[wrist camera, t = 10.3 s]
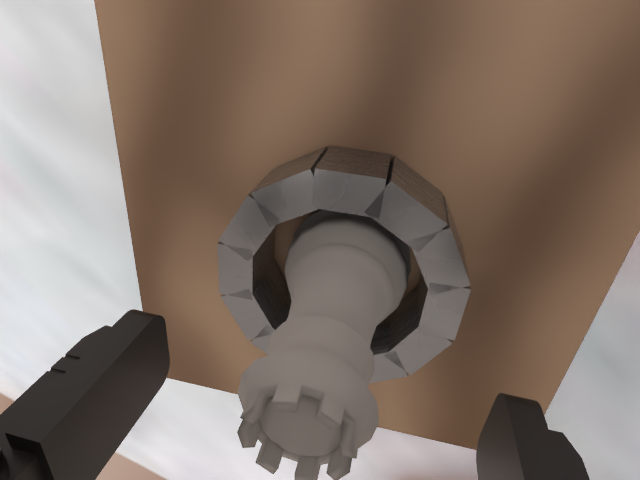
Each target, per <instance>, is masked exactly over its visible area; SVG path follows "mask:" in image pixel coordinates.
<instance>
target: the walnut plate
mask: <svg viewBox="0 0 640 480" xmlns="http://www.w3.org/2000/svg"><path fill="white" fill-rule="evenodd" d="M94 1H95V7H96V14H97V20H98V27H99V33H100V39H101V46H102V52H103V59H104V65H105V71H106V78H107V84H108V91H109V97H110V103H111V110H112V116H113V123H114V129H115V135H116V142H117V148H118V155H119V161H120V167H121V174H122V180H123V187H124V193H125V200H126V206H127V212H128V219H129V225H130V232H131V238H132V244H133V251H134V257H135V264H136V270H137V276H138V283H139V289H140V296H141V302H142V308H143V312H147V313H152V314H156V315H160V316H163V317H164V319H165V323H166V331H167V339H168V347H169V355H170V367H169V371H168V375H167V377H166V378H170V379H175V380H179V381H183V382H188V383H192V384H196V385H200V386H205V387H209V388H213V389H218V390H222V391H226V392H230V393H235V394H238V389H239V384H240V379H241V374H242V373H243V372H244V371H245V370H246V369H247V368H248V367H249V366H250V365H251V364H252V363H253V362H254V361H255V360H256V359H258V358H261V357H264V356H267V355H268V354H266V353H265V352H263V351H262V350H260V349H259V348H257V347H256V346H254V345H253V344H251V341H252V339H251V340H247V338H246V336H245V335H244V333H243V332H242V330H241V329H240V327H239V325H238V324H237V322H236V321H235V319H234V317H233V316H232V314H231V313H230V311H229V309H228V308H227V306H226V305H225V303H224V302H223V300H222V298H221V296H222V294H219V271H218V247H217V243H218V242H219V238H220V237H221V235H222V234H223V232H224V231H225V229H226V228H227V226H228V225H229V223H230V221H231V220H232V218H233V217H234V215H235V214H236V212H237V211H238V209H239V208H240V206H241V205H242V203H243V202H244V200H245V199H246V197H247V196H248V194H249V193H250V192H251V191H252V190H253V189H254V188H255V187H256V186H257V185H258V184H259V183H260V182H261V181H262V180H263V179H264V178H265V177H266V176H267V175H268V174H269V173H270V172H271V171H272V170H273V169H274V168H275V167H277V166H280V165H282V164H284V163H287V162H289V161H292V160H294V159H296V158H299V157H301V156H304V155H306V154H308V153H311V152H313V151H316V150H318V149H320V148H323V147H325V146H327V147H328V149H329V147H330V146H331V145H332V146H339V147H346V148H353V149H361V150H368V151H375V152H382V153H389V154H391V158H390V161H391V160H392V159H393V157H394V156H396V157H398V158H399V159H400V160H402V161H403V162H404V163H405V164H407V165H408V166H409V167H411V168H412V169H413V170H414V171H416V172H417V173H418V174H420V175H421V176H422V177H423V178H425V179H426V180H427V181H429V182H430V183H431V184H432V185H434V186H435V187H436V188H438V189H439V190H440V191H441V192H442V193H443V196H444V195H445V198H446V201H447V203H448V206H449V209H450V212H451V215H452V218H453V220H454V223H455V226H456V229H457V232H458V235H459V237H460V240H461V243H462V246H463V251H464V255H465V260H466V265H467V270H468V274H469V279H470V284H471V286H470V287H471V291H470V294H469V297H468V300H467V303H466V307H465V310H464V313H463V316H462V319H461V322H460V325H459V328H458V332H457V335H456V338H455V340H452V344H451V345H450V346H448V347H447V348H446V349H444V350H443V351H442V352H441V353H439V354H438V355H437V356H435V357H434V358H433V359H431V360H430V361H429V362H428V363H426V364H425V365H424V366H422V367H421V368H420V369H418V370H417V371H416V372H414V373H413V374H412V375H410V374H409V373H408V377H402V378H397V379H391V380H385V381H380V382H374V383H369V385H367V387H368V389H369V390H370V392H371V393H372V395H373V396H374V398H375V399H376V401H377V408H378V416H379V423H378V425H377V427H380V428H385V429H389V430H393V431H397V432H402V433H406V434H410V435H415V436H419V437H423V438H427V439H432V440H436V441H440V442H445V443H449V444H453V445H457V446H462V447H466V448H470V449H475V450H477V445H478V440H479V436H480V434H481V431H482V429H483V427H484V424H485V422H486V420H487V417H488V415H489V413H490V410H491V408H492V406H493V403H494V401H495V399H496V397H497V395H498V394H499V393H504V394H509V395H513V396H518V397H522V398H527V399H531V400H536V401H537V402H538V403H539V404H540V406H541V408H542V411H543V414H545V412H546V410H547V408H548V407H549V405H550V403H551V401H552V399H553V397H554V395H555V393H556V391H557V389H558V387H559V385H560V383H561V381H562V379H563V378H564V376H565V374H566V372H567V370H568V368H569V366H570V364H571V362H572V360H573V358H574V356H575V354H576V352H577V350H578V349H579V347H580V345H581V343H582V341H583V339H584V337H585V335H586V333H587V331H588V329H589V327H590V325H591V323H592V321H593V320H594V318H595V316H596V314H597V312H598V310H599V308H600V306H601V304H602V302H603V300H604V298H605V296H606V294H607V292H608V290H609V289H610V287H611V285H612V283H613V281H614V279H615V277H616V275H617V273H618V271H619V269H620V267H621V265H622V263H623V261H624V260H625V258H626V256H627V254H628V252H629V250H630V248H631V246H632V244H633V242H634V240H635V238H636V236H637V234H638V232H639V231H640V0H94ZM321 210H323V209H318V210H316V211H313V212H310V213H307V214H304V215H302V216H299V217H296V218H293V219H290V220H288V221H285V222H282V223H279V224H276V226H275V254H274V258H275V260H276V262H277V264H278V265H279V267H280V269H281V271H282V273H283V275H284V276H285V262H286V258H287V253H288V249H289V245H290V244H291V243H292V240H293V236H294V233H295V232H296V230H297V229H298V228H299V227H300V226H301V224H302V223H303V222H304V221H305V219H306V218H307V217H308V216H310V215H312V214H314V213H317V212H319V211H321ZM408 247H409V249H410V262H411V272H410V274H409V276H408V286H407V288H406V291H405V293H404V295H403V298H404V297H405V296H406V295H407V294H408V293H409V292H410V291H411V290H412V289H413V288H414V287H416V286H417V285H418V282H419V278H420V274H421V270H420V267H419V265H418V262H417V260H416V257H415V255H414V252H413V250H412V248H411V247H410V246H409V245H408ZM285 278H286V276H285Z"/></svg>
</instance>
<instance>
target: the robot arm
mask: <svg viewBox="0 0 640 480" xmlns="http://www.w3.org/2000/svg"><path fill="white" fill-rule="evenodd" d="M169 367H170V355H169V347H168V339H167V331H166V323H165V319H164V317H163V316H160V315H156V314H152V313H147V312H143V311H138V310H130V311H128V312H127V313H126V314H125V315H124V316H123V317H122V318H121V319H119V320H118V321H117V322H116V323H115V324H114V325H113V326H112V327H110V326H104V327H102V328H100V329H98V330H97V331H95V332H93V333H91V334H89V335H87V336H85V337H84V338H82V339H81V340H80V341H79V342H78V343H77V344H76V345H75V346H74V347H73V348H72V349H71V350H69V351H68V352H67V353H66V356H65V357H64V358H63V357H62V358H61V359H60V360H59V361H58V362H57V363H56V364H54V365H53V366H52V367H51V370H50V371H47V372H46V373H45V374H44V375H43V376H42V377H40V378H39V379H38V380H37V381H36V382H35V383H34V384H33V385H32V386H31V387H30V388H29V389H28V390H27V391H25V392H24V393H23V394H22V395H21V396H20V397H19V398H18V399H17V400H16V401H15V402H14V403H13V404H11V406H9V407H8V408H7V409H6V410H5V411H4V412H3V413H2V414H1V415H0V480H95V479H96V478H97V476H98V475H99V473H100V472H101V471H102V469H103V468H104V466H105V465H106V463H107V462H108V461H109V459H110V458H111V456H112V455H113V454H114V452H115V451H116V450H117V448H118V447H119V445H120V444H121V443H122V441H123V440H124V438H125V437H126V436H127V434H128V433H129V431H130V430H131V429H132V427H133V426H134V424H135V423H136V422H137V420H138V419H139V417H140V416H141V415H142V413H143V412H144V410H145V409H146V408H147V406H148V405H149V403H150V402H151V401H152V399H153V398H154V396H155V395H156V394H157V392H158V391H159V389H160V388H161V387H162V385H163V383H164V382H165V379H166V377H167V375H168V371H169ZM476 462H477V472H478V480H590V479H589V476H588V474H587V471H586V468H585V466H584V463H583V460H582V458H581V457H580V455H579V454H578V453H577V451H576V450H575V449H574V447H573V446H572V445H571V443H570V442H569V441H568V439H567V438H566V437H565V435H564V434H563V433H561V432H557V431H552V430H548V427H547V423H546V420H545V417H544V414H543V411H542V408H541V406H540V404H539V403H538V402H537V401H536V400H531V399H527V398H522V397H518V396H513V395H509V394H504V393H499V394H498V395H497V397H496V399H495V401H494V403H493V406H492V408H491V410H490V413H489V415H488V417H487V420H486V422H485V424H484V427H483V429H482V431H481V434H480V436H479V440H478V445H477V455H476Z"/></svg>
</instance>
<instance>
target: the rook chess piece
mask: <svg viewBox="0 0 640 480" xmlns="http://www.w3.org/2000/svg"><path fill="white" fill-rule="evenodd" d="M410 272H411V262H410V249H409V247H408V245H407V244H406V243H405V242H403V241H402V240H401V239H399V238H398V237H397V236H395V235H394V234H393V233H391V232H390V231H389V230H387V229H386V228H385V227H383V226H382V225H381V224H379V223H378V222H377V221H375V220H374V219H373V218H371V217H366V216H360V215H354V214H348V213H342V212H336V211H330V210H321V211H319V212H317V213H314V214H312V215H310V216H308V217H307V218H306V219H305V221H304V222H303V223H302V224H301V226H300V227H299V228H298V229H297V230H296V232H295V233H294V236H293V240H292V243H291V244H290V245H289V249H288V253H287V258H286V262H285V276H286V280H287V285H288V290H289V292H290V296H291V301H292V302H291V306H290V311H289V315H288V318H287V320H286V322H283V323H282V324H281V325H280V326H279V327H278V328H277V329H276V330H275V331H274V332H273V333H272V334H271V338H270V342H269V346H268V353H269V355H267V356H264V357H261V358H258V359H256V360H255V361H254V362H253V363H252V364H251V365H250V366H249V367H248V368H247V369H246V370H245V371H244V372H243V373H242V374H241V379H240V384H239V389H238V395H239V398H240V401H241V404H242V407H243V410H244V411H243V413H242V415H241V418H242V419H243V420H242V423H241V425H240V427H239V429H238V432H237V433H238V435H239V438H240V441H241V444H242V447H243V448H248V447H255V444H256V442H257V439H259V441H260V442H261V443H262V446H261V449H260V451H259V454H258V457H257V460H256V463H257V464H259V465H260V466H262V467H263V468H265V469H266V470H268V471H269V472H271V473H272V474H274V473H275V472H276V470H277V469H278V467H279V464H280V461H281V458H282V456H283V457H286V458H288V459H291V460H294V461H297V462H298V464H297V468H296V471H295V480H317V478H318V474H319V469H320V465H322V464H327V463H328V468H327V474H328V475H329V476H330V477H332V478H333V479H334V480H338V479H340V478H341V477H343V476H345V475H346V474H348V473H349V472H350V467H351V461H352V458H356V457H357V450H358V448H359V447H361V446H362V445H363V444H365V443H366V442H368V441H369V440H370V439H371V438H372V436H373V434H374V432H375V430H376V427H377V425H378V423H379V416H378V408H377V401H376V399H375V398H374V396H373V395H372V393H371V392H370V390H369V389H368V387H367V385H369V383H370V380H371V378H372V376H373V374H374V371H375V365H374V356H373V352H372V351H371V349H370V345H371V340H372V337H373V334H374V332H375V329H376V326H377V325H378V324H379V323H381V322H382V321H383V320H384V319H385V318H386V317H387V316H389V315H390V314H391V313H392V312H393V311H394V310H395V309H397V307H398V306H399V304H400V302H401V300H402V298H403V295H404V293H405V291H406V288H407V286H408V276H409V274H410Z"/></svg>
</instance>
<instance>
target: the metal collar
mask: <svg viewBox="0 0 640 480" xmlns="http://www.w3.org/2000/svg"><path fill="white" fill-rule="evenodd" d="M390 158H391V154H389V153H382V152H375V151H368V150H361V149H353V148H346V147H339V146H332V145H331V146H330V147H329V149H328V147H327V146H325V147H323V148H320V149H318V150H316V151H313V152H311V153H308V154H306V155H304V156H301V157H299V158H296V159H294V160H292V161H289V162H287V163H284V164H282V165H280V166H277V167H275V168H274V169H273V170H272V171H271V172H270V173H269V174H268V175H267V176H266V177H265V178H264V179H263V180H262V181H261V182H260V183H259V184H258V185H257V186H256V187H255V188H254V189H253V190H252V191H251V192H250V193H249V194H248V196H247V197H246V199H245V200H244V202H243V203H242V205H241V206H240V208H239V209H238V211H237V212H236V214H235V215H234V217H233V218H232V220H231V221H230V223H229V225H228V226H227V228H226V229H225V231H224V232H223V234H222V235H221V237H220V238H219V242H218V243H217V247H218V271H219V294H222V296H221V298H222V300H223V302H224V303H225V305H226V306H227V308H228V309H229V311H230V313H231V314H232V316H233V317H234V319H235V321H236V322H237V324H238V325H239V327H240V329H241V330H242V332H243V333H244V335H245V336H246V338H247V340H251V339H252V341H251V344H253V345H254V346H256V347H257V348H259V349H260V350H262V351H263V352H265V353H266V354H268V355H269V353H268V346H269V342H270V338H271V334H272V333H273V332H274V331H275V330H276V329H277V328H278V327H279V326H280V325H281V324H282V323H283V322H286V320H287V318H288V315H289V311H290V306H291V302H292V301H291V296H290V292H289V290H288V285H287V280H286V278H285V276H284V275H283V273H282V271H281V269H280V267H279V265H278V264H277V262H276V260H275V258H274V254H275V226H276V224H279V223H282V222H285V221H288V220H290V219H293V218H296V217H299V216H302V215H304V214H307V213H310V212H313V211H316V210H318V209H323V210H330V211H336V212H342V213H348V214H354V215H360V216H366V217H371V218H373V219H374V220H375V221H377V222H378V223H379V224H381V225H382V226H383V227H385V228H386V229H387V230H389V231H390V232H391V233H393V234H394V235H395V236H397V237H398V238H399V239H401V240H402V241H403V242H405V243H406V244H407V245H409V246H410V247H411V248H412V250H413V252H414V255H415V257H416V260H417V262H418V265H419V267H420V270H421V274H420V278H419V282H418V285H417V286H416V287H414V288H413V289H412V290H411V291H410V292H409V293H408V294H407V295H406V296H405V297H404V298H402V300H401V302H400V304H399V306H398V307H397V309H395V310H394V311H393V312H392V313H391V314H390V315H389V316H387V317H386V318H385V319H384V320H383V321H382V322H381V323H379V324H378V325H377V326H376V329H375V332H374V334H373V337H372V340H371V345H370V349H371V351H372V352H373V356H374V365H375V371H374V374H373V376H372V378H371V380H370V383H374V382H380V381H385V380H391V379H397V378H402V377H408V373H409V374H410V375H412V374H413V373H414V372H416V371H417V370H418V369H420V368H421V367H422V366H424V365H425V364H426V363H428V362H429V361H430V360H431V359H433V358H434V357H435V356H437V355H438V354H439V353H441V352H442V351H443V350H444V349H446V348H447V347H448V346H450V345H451V344H452V340H455V338H456V335H457V332H458V328H459V325H460V322H461V319H462V316H463V313H464V310H465V307H466V303H467V300H468V297H469V294H470V291H471V287H470V286H471V284H470V279H469V274H468V270H467V265H466V260H465V255H464V251H463V246H462V243H461V240H460V237H459V235H458V232H457V229H456V226H455V223H454V220H453V218H452V215H451V212H450V209H449V206H448V203H447V201H446V198H445V195H444V196H443V193H442V192H441V191H440V190H439V189H438V188H436V187H435V186H434V185H432V184H431V183H430V182H429V181H427V180H426V179H425V178H423V177H422V176H421V175H420V174H418V173H417V172H416V171H414V170H413V169H412V168H411V167H409V166H408V165H407V164H405V163H404V162H403V161H402V160H400V159H399V158H398V157H396V156H394V157H393V159H392V160H391V161H390Z"/></svg>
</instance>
